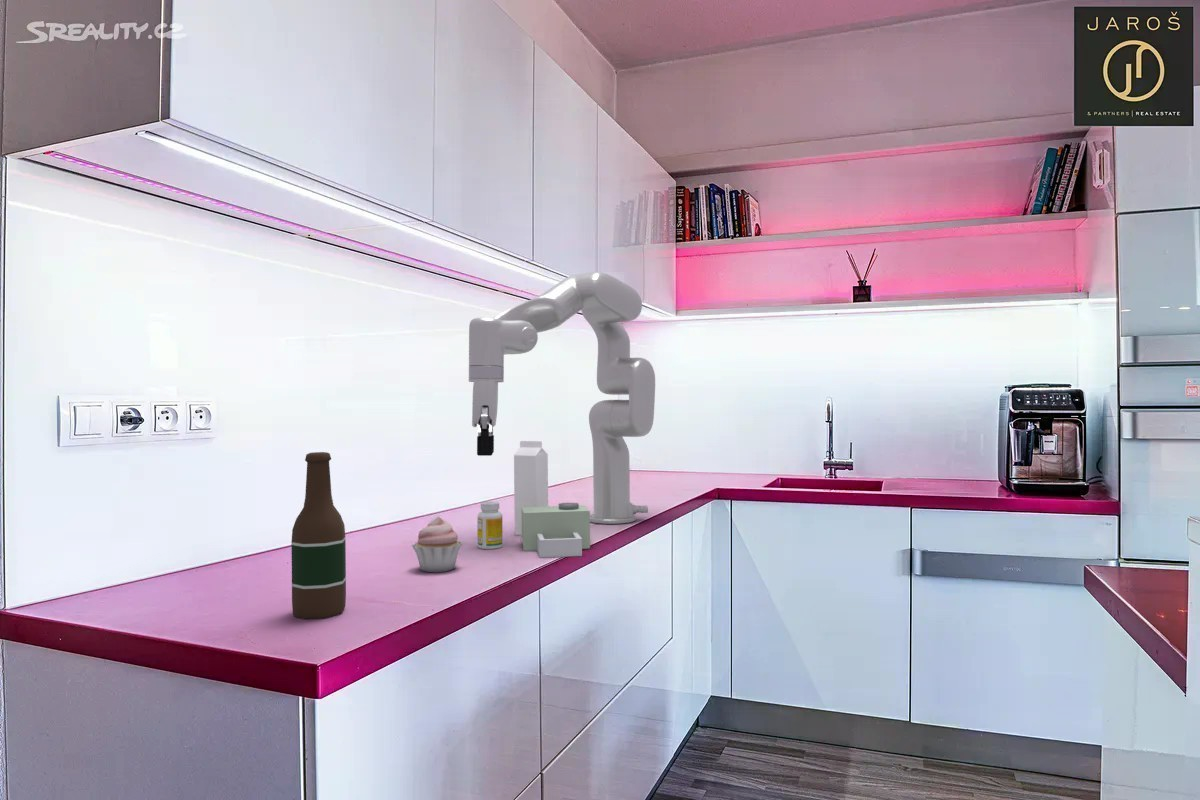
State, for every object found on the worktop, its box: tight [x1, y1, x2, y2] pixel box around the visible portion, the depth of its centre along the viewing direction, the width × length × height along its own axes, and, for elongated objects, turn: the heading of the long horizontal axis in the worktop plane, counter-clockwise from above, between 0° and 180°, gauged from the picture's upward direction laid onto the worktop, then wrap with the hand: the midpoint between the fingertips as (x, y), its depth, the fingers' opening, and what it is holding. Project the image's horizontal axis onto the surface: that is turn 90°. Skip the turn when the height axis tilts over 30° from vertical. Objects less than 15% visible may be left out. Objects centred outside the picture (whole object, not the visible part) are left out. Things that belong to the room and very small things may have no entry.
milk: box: [513, 440, 549, 536], centre depth 181 cm, size 6×6×22 cm
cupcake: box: [411, 515, 464, 573], centre depth 143 cm, size 9×9×10 cm
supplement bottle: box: [476, 501, 503, 550], centre depth 165 cm, size 5×5×10 cm
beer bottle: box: [291, 451, 347, 620], centre depth 114 cm, size 8×8×24 cm
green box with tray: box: [521, 502, 591, 559], centre depth 162 cm, size 14×16×9 cm
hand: (485, 454), depth 164 cm, fingers open, 9 cm apart
